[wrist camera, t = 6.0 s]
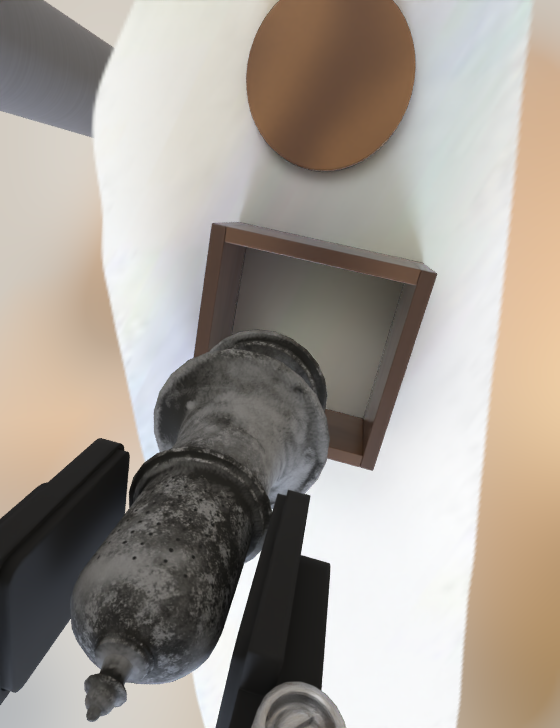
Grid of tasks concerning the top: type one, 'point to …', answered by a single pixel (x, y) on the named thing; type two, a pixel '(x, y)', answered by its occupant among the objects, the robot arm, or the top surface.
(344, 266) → the crate
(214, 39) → the top surface
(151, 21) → the top surface
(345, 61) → the coaster
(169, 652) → the stone chess piece
